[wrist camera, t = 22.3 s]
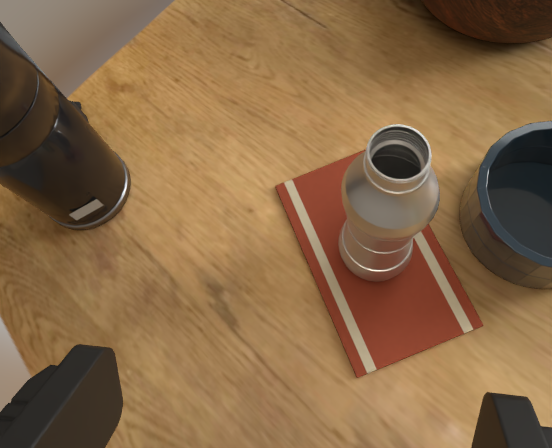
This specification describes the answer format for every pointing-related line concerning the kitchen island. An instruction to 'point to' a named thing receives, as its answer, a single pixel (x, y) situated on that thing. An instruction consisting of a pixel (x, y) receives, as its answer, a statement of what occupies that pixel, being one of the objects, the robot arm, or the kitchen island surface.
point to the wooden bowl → (496, 18)
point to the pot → (513, 207)
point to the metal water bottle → (387, 202)
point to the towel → (368, 294)
